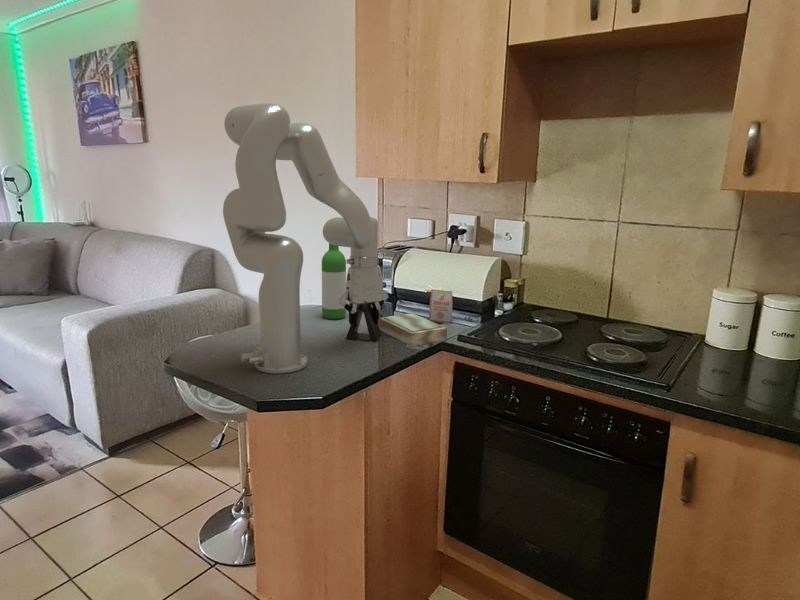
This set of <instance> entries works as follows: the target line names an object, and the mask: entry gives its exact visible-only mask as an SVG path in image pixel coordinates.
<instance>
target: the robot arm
mask: <svg viewBox="0 0 800 600" xmlns="http://www.w3.org/2000/svg"><path fill="white" fill-rule="evenodd" d="M223 123H224V124H223V125H224V126H223V127H224V130H225V133H226V134H227V136H228V138H229V139H230V140H231V141H232V142H233V143H234V144H236V145H238V149H237V152H236V155H235V162H234V164H235V165H234V167H235V173H236V178H237V181H238V186H239V187H238V188H235V189H233V190H231V191H230V192H229V193H227V196H226V197H225V199H224V201H223V209H222V215H223V221H224V224H225V227H226V230H227V234H228V236H229V240H230V244H231V246H232V250H233V252H234V253H233V254H234V256H235V258H236V261H238V263H239V265H241V266H242V268H244V269H245V270H248V271H249V272H250V271H251V272H254V273H260V274H263V278H262V281H261V282H260V286H259V289H258V313H259V314H258V315H259V316H258V317H259V334H260V335H259V338H260V346H256V350H253V352H250V353H248V352H247V353H241V354H240V361H241V363H244V362H249V364H250V365H251V364H254V368H255V369H257V370H258V371H259V372H262V373H266V374H267V373H268V374H275V375H276V374H289V373H294V372H297V371H300V370H302V369H304V368H305V367H307V366H308V357H307V356H306V355H304V354H302V343H301V342H302V340H301V339H302V337H301V303H300V302H301V300H300V299H301V297H300V295H301V294H300V292H301V290H300V289H301V288H300V286H301V275H302V270H303V265H304V264H303V263H304V251H303V249H302V247H301V245H300V244H299V243H298V242H297V241H296V240H295V239H294V238H292V237H289V236H286V235H280V234H274V233H273V232H276V231H279V230H281V229H282V228H284V226H285V224H286V221H287V210H286V206H285V205H286V204H285V201H284V198H283V193H282V191H281V190H282V189H281V185H280V181H279V178H278V171H277V161H291V162H292V163H293V165H294V167H295V169H296V170H297V173H298V175H299V177H300V180H301V181H302V184H303V186H304V188H305V190H306V192H307V193H308V194H309V195H310V196H311V197H312V198H314V199H315V200H317V201H319V202H320V203H322V204H325V205H326V206H328V207H330V208H331V209H333V210H334V211H336V212H337V213H338V214H339V215H340V216H341V217H338V216H337V217H332V218H330V219H328V220H326V222H325V223H324V224H323V227H322V236H323V238H324V241H326V242H327V243H328V244H329V243H330V244H332V245H336V246H339V247H341V248H342V247H343V248H350V256H349V258H348V259H346V265H350V266H348V269H347V272H346V292H345V293H344V294H343V295H342V296H341V298H340V299H339V300H338V302H339V303H340V304H341V305H342V306H343V307H344V308H345V309H346V312H348V323H349V325H350V326H351V324H353V327H356V326H357V314H356V313H355V312H356V309H357V305H358V304H366V303H365V301H366V302H367V303H371V306H372V311H373V316H374V320H375V324H378V325H379V318H380V316H379V312H380V310H381V307H382V306H383V305H384V304H385V302H386V301H387V300H388V298H389V294H388V292H386V291H385V290H384V281H383V273H382V268H381V266H379V265H378V263H379V262H378V260H379V258H378V257H379V256H378V253H379V222H378V221H379V220H377V218H375V217H371V215H370V213H369V211H368V208H367V207H366V205H365V203H364V202H363V201H362V199H361V198H360V197H359V196H358V195H357V194H356V193H355V192H354V191H353V190H352V189H351V188H350V187H349V186H348V185H347V184H346V183H345V182H344V181H343V180H341V179H340V177H339V175H338V173H337V171H336V168H335V166H334V163H333V162H332V159H331V157H330V155H329V152H328V150H327V147H326V145H325V143H324V140H323V138H322V136H321V134H320V132H319V130H318V129H317V128H316V127H315V126H314V125H312V124H309V123H303V122H299V123H297V122H296V123H295V122H294V123H291V117H290V115H289V113H288V111H287V110H286V108H284V107H283V106H282V105H280V104H276V103H257V104H256V103H255V104H248V105H240V106H238V105H237V106H235V107H233V108H231V109H230V110H229V111H228V112H227V113H226V115H225V117H224V122H223ZM269 232H270V233H269ZM271 232H272V233H271ZM347 301H348V302H349V303H347Z"/></svg>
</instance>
